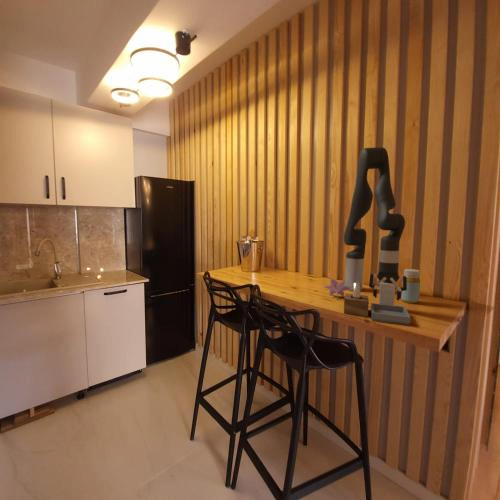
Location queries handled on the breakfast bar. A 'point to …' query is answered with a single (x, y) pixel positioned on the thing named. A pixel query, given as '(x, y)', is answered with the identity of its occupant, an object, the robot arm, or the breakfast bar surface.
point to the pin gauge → (356, 290)
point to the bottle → (411, 286)
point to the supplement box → (387, 293)
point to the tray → (389, 314)
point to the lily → (337, 287)
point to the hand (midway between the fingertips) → (386, 298)
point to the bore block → (356, 305)
